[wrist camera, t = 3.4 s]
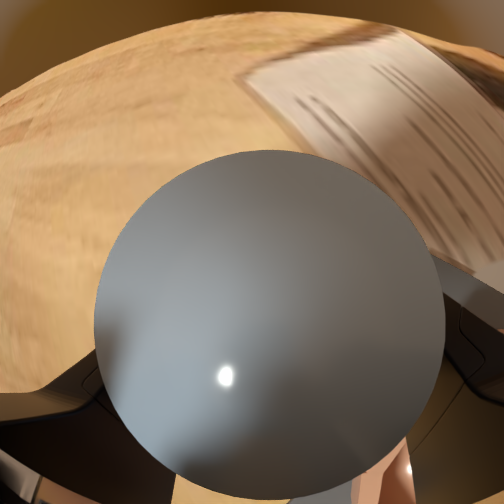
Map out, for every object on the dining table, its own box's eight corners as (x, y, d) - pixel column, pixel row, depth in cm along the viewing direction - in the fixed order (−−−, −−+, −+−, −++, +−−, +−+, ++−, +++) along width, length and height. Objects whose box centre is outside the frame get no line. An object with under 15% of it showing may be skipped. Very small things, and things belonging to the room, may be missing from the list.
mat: (451, 546, 7) (452, 549, 7) (275, 516, 12) (274, 519, 11) (572, 342, 9) (575, 342, 8) (427, 255, 14) (429, 253, 13)
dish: (462, 532, 7) (474, 552, 4) (305, 507, 11) (301, 536, 8) (563, 366, 9) (588, 369, 6) (432, 295, 13) (457, 290, 10)
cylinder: (320, 383, 13) (320, 537, 2) (236, 340, 15) (63, 377, 4) (364, 296, 14) (487, 236, 3) (278, 256, 15) (186, 118, 4)
